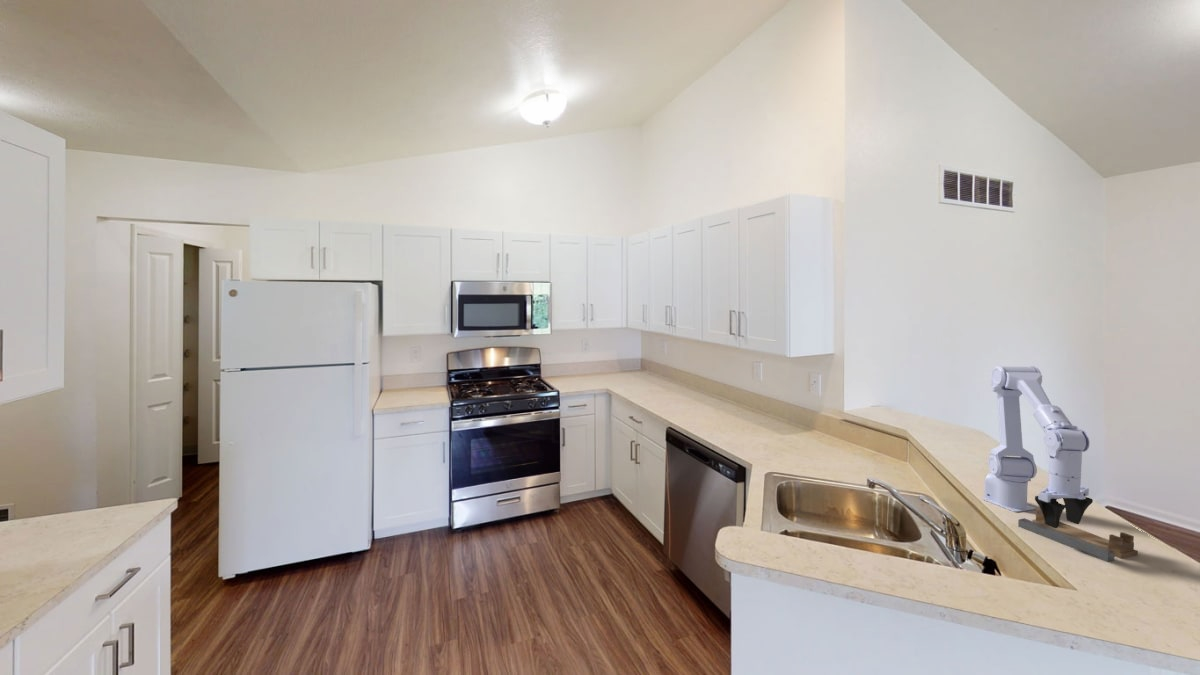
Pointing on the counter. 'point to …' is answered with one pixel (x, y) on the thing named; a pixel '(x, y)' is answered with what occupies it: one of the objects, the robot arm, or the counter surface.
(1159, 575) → the counter surface
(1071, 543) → the graphite rail
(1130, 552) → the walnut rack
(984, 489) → the robot arm
